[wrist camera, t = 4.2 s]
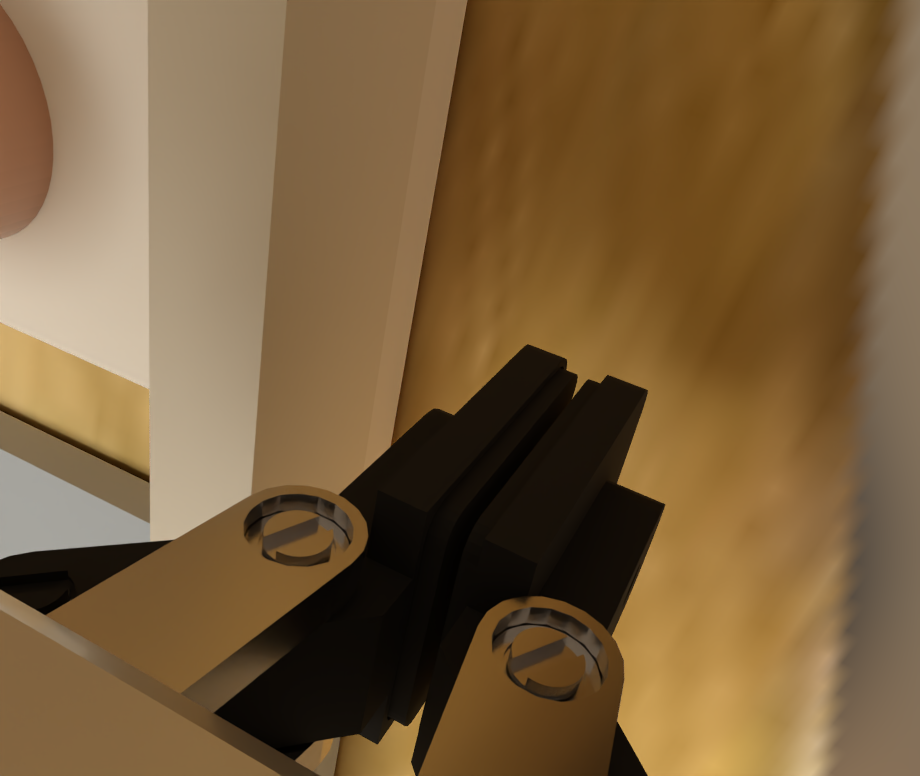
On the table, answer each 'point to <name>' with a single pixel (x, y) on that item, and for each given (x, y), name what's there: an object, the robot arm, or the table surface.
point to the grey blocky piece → (72, 503)
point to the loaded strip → (113, 197)
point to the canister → (21, 134)
